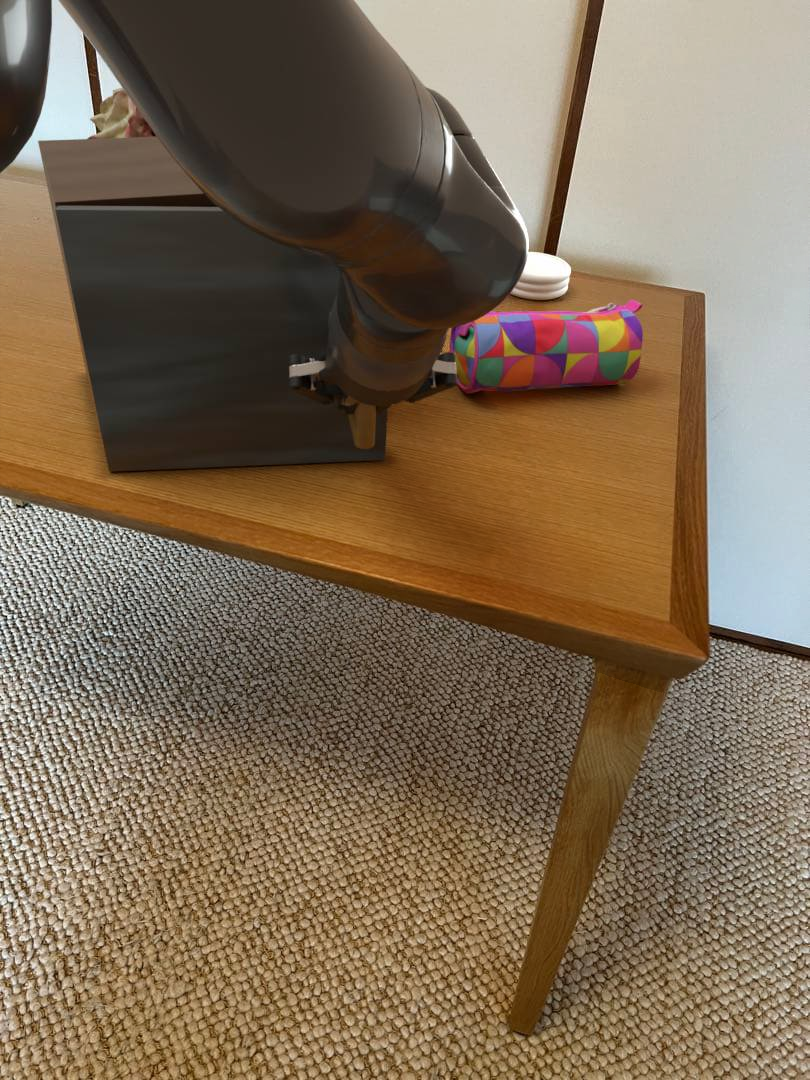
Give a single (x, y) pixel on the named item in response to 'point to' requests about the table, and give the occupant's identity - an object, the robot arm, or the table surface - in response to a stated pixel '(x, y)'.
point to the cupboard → (114, 181)
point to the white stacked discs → (543, 277)
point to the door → (204, 341)
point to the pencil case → (548, 349)
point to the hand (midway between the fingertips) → (363, 402)
